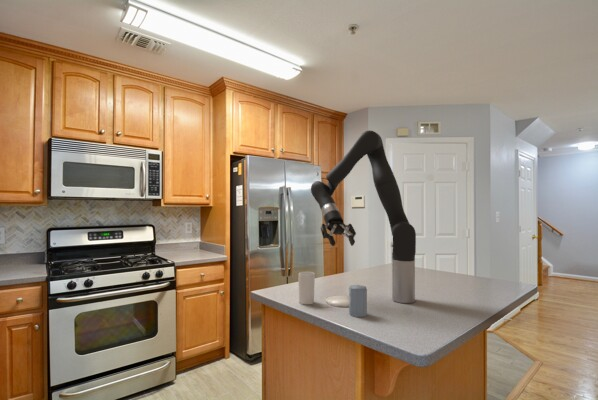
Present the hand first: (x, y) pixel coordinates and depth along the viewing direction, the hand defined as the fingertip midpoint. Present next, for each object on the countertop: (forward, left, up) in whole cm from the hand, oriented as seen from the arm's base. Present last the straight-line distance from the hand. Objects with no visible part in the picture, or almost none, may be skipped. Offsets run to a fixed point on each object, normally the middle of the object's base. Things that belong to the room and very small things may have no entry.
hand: (343, 244), depth 131 cm
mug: (+6, -15, -25) cm, 29 cm away
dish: (-3, -3, -24) cm, 25 cm away
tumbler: (+6, +10, -24) cm, 27 cm away
